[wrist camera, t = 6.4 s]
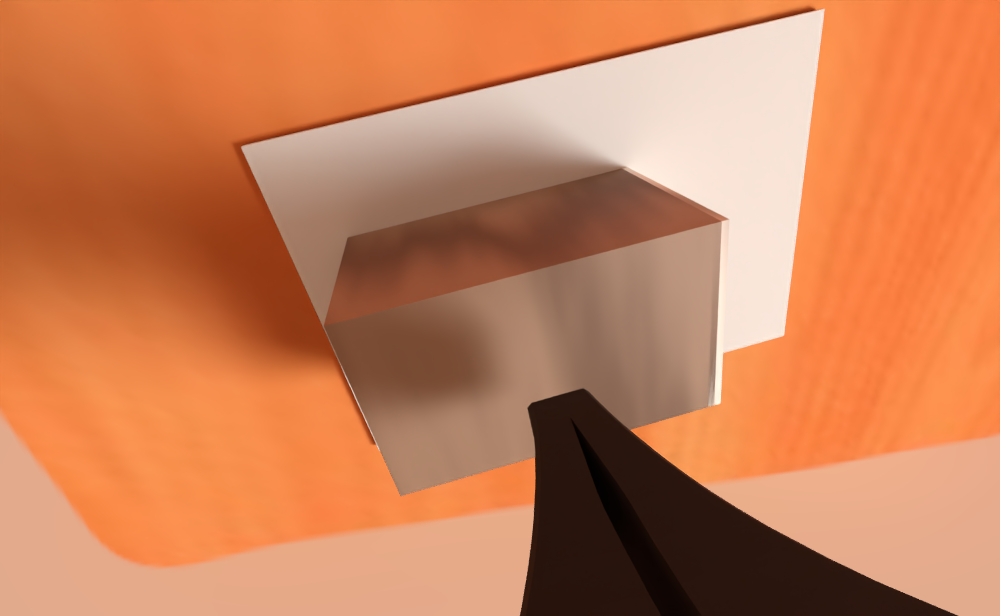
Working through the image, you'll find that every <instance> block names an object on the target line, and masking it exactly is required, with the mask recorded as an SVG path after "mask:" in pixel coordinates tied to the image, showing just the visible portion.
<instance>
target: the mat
mask: <svg viewBox="0 0 1000 616" xmlns="http://www.w3.org/2000/svg"><path fill="white" fill-rule="evenodd" d="M824 10H825V9H820V10H814V11H810V12H806V13H802V14H797V15H793V16H789V17H785V18H780V19H776V20H772V21H768V22H763V23H759V24H755V25H751V26H746V27H742V28H738V29H734V30H729V31H725V32H721V33H717V34H712V35H708V36H704V37H700V38H695V39H691V40H687V41H683V42H679V43H674V44H670V45H666V46H662V47H657V48H653V49H649V50H645V51H640V52H636V53H632V54H628V55H623V56H619V57H615V58H611V59H606V60H602V61H598V62H594V63H589V64H585V65H581V66H577V67H572V68H568V69H564V70H560V71H556V72H551V73H547V74H543V75H539V76H534V77H530V78H526V79H522V80H517V81H513V82H509V83H505V84H500V85H496V86H492V87H488V88H483V89H479V90H475V91H471V92H466V93H462V94H458V95H454V96H449V97H445V98H441V99H437V100H432V101H428V102H424V103H420V104H416V105H411V106H407V107H403V108H399V109H394V110H390V111H386V112H382V113H377V114H373V115H369V116H365V117H360V118H356V119H352V120H348V121H343V122H339V123H335V124H331V125H326V126H322V127H318V128H314V129H309V130H305V131H301V132H297V133H292V134H288V135H284V136H280V137H276V138H271V139H267V140H263V141H259V142H254V143H250V144H246V145H243V146H241V148H242V151H243V153H244V155H245V157H246V159H247V162H248V164H249V166H250V168H251V170H252V173H253V175H254V177H255V179H256V181H257V184H258V186H259V188H260V190H261V192H262V194H263V197H264V199H265V201H266V203H267V205H268V208H269V210H270V212H271V214H272V216H273V219H274V221H275V223H276V225H277V227H278V230H279V232H280V234H281V236H282V238H283V241H284V243H285V245H286V247H287V249H288V252H289V254H290V256H291V258H292V260H293V263H294V265H295V267H296V269H297V271H298V274H299V276H300V278H301V280H302V282H303V285H304V287H305V289H306V291H307V293H308V296H309V298H310V300H311V302H312V304H313V306H314V309H315V311H316V313H317V315H318V317H319V320H320V322H321V324H322V326H323V328H324V323H325V319H326V315H327V312H328V308H329V304H330V301H331V297H332V293H333V289H334V286H335V282H336V278H337V275H338V271H339V267H340V264H341V260H342V256H343V253H344V249H345V245H346V241H347V238H348V237H352V236H356V235H360V234H364V233H368V232H372V231H376V230H380V229H384V228H388V227H392V226H395V225H399V224H403V223H407V222H411V221H415V220H419V219H423V218H427V217H431V216H435V215H439V214H443V213H447V212H451V211H455V210H459V209H463V208H467V207H471V206H475V205H479V204H483V203H487V202H491V201H495V200H499V199H503V198H507V197H511V196H515V195H519V194H523V193H527V192H531V191H535V190H539V189H543V188H547V187H551V186H555V185H559V184H562V183H566V182H570V181H574V180H578V179H582V178H586V177H590V176H594V175H598V174H602V173H606V172H610V171H614V170H618V169H622V168H626V167H628V168H630V169H632V170H634V171H636V172H638V173H640V174H642V175H644V176H646V177H648V178H650V179H652V180H654V181H655V182H657V183H659V184H661V185H663V186H665V187H667V188H669V189H671V190H673V191H675V192H677V193H679V194H681V195H683V196H685V197H687V198H689V199H691V200H693V201H695V202H697V203H699V204H700V205H702V206H704V207H706V208H708V209H710V210H712V211H714V212H716V213H718V214H720V215H722V216H724V217H726V218H728V219H729V239H728V259H727V280H726V300H725V320H724V341H723V353H725V352H728V351H732V350H735V349H739V348H742V347H746V346H749V345H753V344H756V343H760V342H764V341H767V340H771V339H774V338H778V337H781V336H784V331H785V323H786V315H787V307H788V298H789V290H790V282H791V274H792V266H793V258H794V250H795V242H796V234H797V226H798V218H799V210H800V202H801V194H802V186H803V178H804V170H805V162H806V154H807V146H808V138H809V130H810V122H811V114H812V106H813V98H814V90H815V82H816V74H817V66H818V58H819V50H820V42H821V34H822V26H823V18H824ZM324 331H325V333H326V335H327V332H326V330H325V328H324ZM327 337H328V335H327ZM328 339H329V337H328ZM329 342H330V344H331V341H330V339H329ZM331 346H332V344H331ZM332 348H333V346H332ZM333 350H334V348H333ZM334 353H335V355H336V352H335V350H334ZM336 357H337V355H336ZM337 359H338V357H337ZM338 361H339V359H338ZM339 364H340V366H341V363H340V361H339ZM341 368H342V366H341ZM342 370H343V368H342ZM343 372H344V370H343ZM344 375H345V377H346V374H345V372H344ZM346 379H347V377H346ZM347 381H348V379H347ZM348 383H349V381H348ZM349 386H350V388H351V385H350V383H349ZM351 390H352V388H351ZM352 392H353V390H352ZM353 394H354V392H353ZM354 397H355V399H356V396H355V394H354ZM356 401H357V399H356ZM357 403H358V401H357ZM358 405H359V403H358ZM359 407H360V405H359ZM360 410H361V408H360ZM361 412H362V410H361ZM362 414H363V412H362ZM363 416H364V414H363ZM364 418H365V416H364ZM365 421H366V419H365ZM366 423H367V421H366ZM367 425H368V423H367ZM368 427H369V425H368ZM369 429H370V427H369ZM370 432H371V430H370ZM371 434H372V432H371ZM372 436H373V434H372ZM373 438H374V436H373ZM374 440H375V438H374ZM375 443H376V441H375ZM376 445H377V443H376ZM377 447H378V445H377ZM378 449H379V447H378ZM379 450H380V449H379Z"/></svg>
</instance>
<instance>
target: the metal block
mask: <svg viewBox="0 0 1000 616" xmlns="http://www.w3.org/2000/svg"><path fill="white" fill-rule="evenodd" d="M728 239H729V219H728V218H726V217H724V216H722V215H720V214H718V213H716V212H714V211H712V210H710V209H708V208H706V207H704V206H702V205H700V204H699V203H697V202H695V201H693V200H691V199H689V198H687V197H685V196H683V195H681V194H679V193H677V192H675V191H673V190H671V189H669V188H667V187H665V186H663V185H661V184H659V183H657V182H655V181H654V180H652V179H650V178H648V177H646V176H644V175H642V174H640V173H638V172H636V171H634V170H632V169H630V168H628V167H626V168H622V169H618V170H614V171H610V172H606V173H602V174H598V175H594V176H590V177H586V178H582V179H578V180H574V181H570V182H566V183H562V184H559V185H555V186H551V187H547V188H543V189H539V190H535V191H531V192H527V193H523V194H519V195H515V196H511V197H507V198H503V199H499V200H495V201H491V202H487V203H483V204H479V205H475V206H471V207H467V208H463V209H459V210H455V211H451V212H447V213H443V214H439V215H435V216H431V217H427V218H423V219H419V220H415V221H411V222H407V223H403V224H399V225H395V226H392V227H388V228H384V229H380V230H376V231H372V232H368V233H364V234H360V235H356V236H352V237H348V238H347V241H346V245H345V249H344V253H343V256H342V260H341V264H340V267H339V271H338V275H337V278H336V282H335V286H334V289H333V293H332V297H331V301H330V304H329V308H328V312H327V315H326V319H325V323H324V328H325V330H326V332H327V335H328V337H329V339H330V341H331V344H332V346H333V348H334V350H335V352H336V355H337V357H338V359H339V361H340V363H341V366H342V368H343V370H344V372H345V374H346V377H347V379H348V381H349V383H350V385H351V388H352V390H353V392H354V394H355V396H356V399H357V401H358V403H359V405H360V408H361V410H362V412H363V414H364V416H365V419H366V421H367V423H368V425H369V427H370V430H371V432H372V434H373V436H374V438H375V441H376V443H377V445H378V447H379V449H380V452H381V454H382V456H383V458H384V460H385V463H386V465H387V467H388V469H389V471H390V474H391V476H392V478H393V480H394V483H395V485H396V487H397V489H398V491H399V494H400V496H403V495H406V494H410V493H413V492H417V491H420V490H424V489H427V488H430V487H434V486H437V485H441V484H444V483H448V482H451V481H455V480H458V479H461V478H465V477H468V476H472V475H475V474H479V473H482V472H486V471H489V470H493V469H496V468H499V467H503V466H506V465H510V464H513V463H517V462H520V461H524V460H527V459H530V458H534V457H535V444H534V436H533V432H532V427H531V423H530V418H529V414H528V409H527V408H528V406H529V405H530V404H531V403H532V402H536V401H539V400H543V399H546V398H550V397H553V396H557V395H560V394H564V393H568V392H571V391H575V390H578V389H582V388H584V389H586V390H587V391H589V392H590V393H591V394H592V395H593V396H594V397H595V398H596V399H597V400H598V401H599V402H600V403H601V404H602V405H603V406H604V407H605V408H606V409H607V410H608V411H609V412H610V413H611V414H612V415H613V416H614V417H616V418H617V419H618V420H619V421H620V422H621V423H622V424H623V425H624V426H626V427H627V428H628V429H629V430H631V429H634V428H637V427H641V426H644V425H648V424H651V423H655V422H658V421H662V420H665V419H669V418H672V417H675V416H679V415H682V414H686V413H689V412H693V411H696V410H700V409H703V408H706V407H710V406H713V405H717V404H720V402H721V381H722V361H723V341H724V320H725V300H726V280H727V259H728Z"/></svg>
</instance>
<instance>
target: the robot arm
mask: <svg viewBox="0 0 1000 616" xmlns="http://www.w3.org/2000/svg"><path fill="white" fill-rule="evenodd" d="M527 409H528V414H529V418H530V423H531V427H532V432H533V436H534V444H535V472H536V485H535V504H534V521H533V533H532V542H531V550H530V558H529V566H528V572H527V578H526V579H527V580H526V584H525V590H524V596H523V602H522V608H521V613H520V616H957V615H955V614H953V613H950V612H948V611H946V610H943V609H941V608H938V607H936V606H934V605H931V604H929V603H926V602H924V601H922V600H919V599H917V598H915V597H912V596H910V595H907V594H905V593H903V592H900V591H898V590H896V589H893V588H891V587H888V586H886V585H884V584H881V583H879V582H877V581H875V580H873V579H871V578H868V577H866V576H864V575H862V574H860V573H858V572H856V571H854V570H852V569H850V568H848V567H845V566H843V565H841V564H839V563H837V562H835V561H833V560H831V559H829V558H827V557H825V556H823V555H821V554H819V553H817V552H816V551H814V550H811V549H810V548H808V547H806V546H804V545H802V544H800V543H799V542H797V541H795V540H793V539H791V538H789V537H787V536H785V535H783V534H781V533H780V532H778V531H776V530H774V529H772V528H770V527H768V526H766V525H765V524H763V523H761V522H760V521H758V520H756V519H755V518H753V517H751V516H750V515H748V514H746V513H745V512H743V511H741V510H740V509H738V508H736V507H735V506H733V505H731V504H730V503H728V502H727V501H725V500H723V499H722V498H720V497H719V496H717V495H716V494H714V493H712V492H711V491H710V490H708V489H707V488H705V487H704V486H702V485H701V484H699V483H698V482H696V481H695V480H694V479H692V478H691V477H689V476H688V475H686V474H685V473H684V472H682V471H681V470H680V469H678V468H677V467H676V466H674V465H673V464H671V463H670V462H669V461H667V460H666V459H665V458H664V457H662V456H661V455H660V454H658V453H657V452H656V451H655V450H653V449H652V448H651V447H650V446H648V445H647V444H646V443H645V442H644V441H642V440H641V439H640V438H639V437H637V436H636V435H635V434H634V433H633V432H631V431H630V430H629V429H628V428H627V427H626V426H624V425H623V424H622V423H621V422H620V421H619V420H618V419H617V418H616V417H614V416H613V415H612V414H611V413H610V412H609V411H608V410H607V409H606V408H605V407H604V406H603V405H602V404H601V403H600V402H599V401H598V400H597V399H596V398H595V397H594V396H593V395H592V394H591V393H590V392H589V391H587V390H586V389H584V388H582V389H578V390H575V391H571V392H568V393H564V394H560V395H557V396H553V397H550V398H546V399H543V400H539V401H536V402H532V403H531V404H530V405H529V406H528V408H527Z"/></svg>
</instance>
